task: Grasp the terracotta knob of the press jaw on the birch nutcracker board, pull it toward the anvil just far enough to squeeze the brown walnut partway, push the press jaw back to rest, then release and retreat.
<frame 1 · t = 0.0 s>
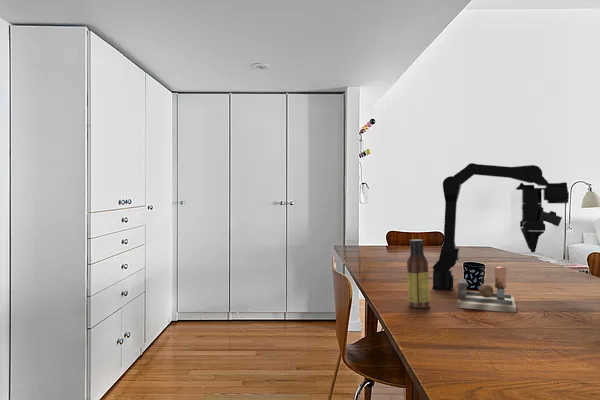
hand: (531, 250, 147), 15 cm above the table, fingers open, 9 cm apart
sauce bottle: (418, 307, 133), on the table
press jaw: (500, 283, 134), point 7 cm above the table, slide at 0.0 cm
nutcracker board: (486, 303, 135), on the table
walnut: (486, 290, 135), point 4 cm above the table, slide at 0.0 cm
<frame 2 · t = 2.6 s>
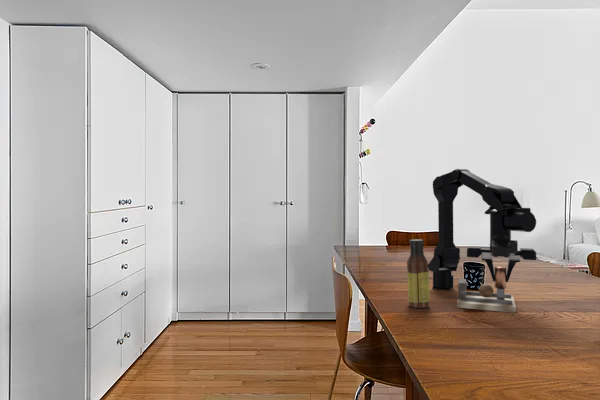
hand: (500, 281, 134), 7 cm above the table, fingers closed on press jaw, 3 cm apart
press jaw: (500, 283, 134), point 7 cm above the table, slide at 0.0 cm, touching gripper
everything else where it was.
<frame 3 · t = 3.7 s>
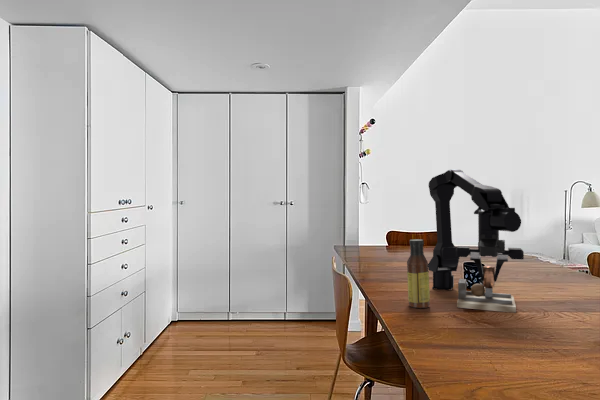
hand: (488, 281, 135), 7 cm above the table, fingers closed on press jaw, 3 cm apart
press jaw: (488, 282, 135), point 7 cm above the table, slide at 3.2 cm, touching gripper, walnut
walnut: (477, 290, 136), point 4 cm above the table, slide at 2.3 cm, touching press jaw
everything else where it was.
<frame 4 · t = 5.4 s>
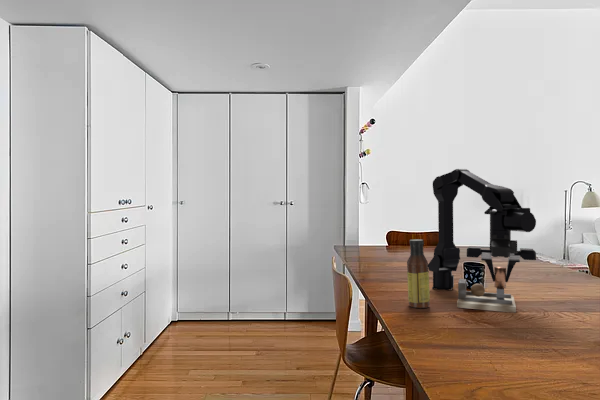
hand: (500, 281, 134), 7 cm above the table, fingers closed on press jaw, 3 cm apart
press jaw: (500, 283, 134), point 7 cm above the table, slide at 0.1 cm, touching gripper
walnut: (477, 290, 136), point 4 cm above the table, slide at 2.3 cm
everything else where it was.
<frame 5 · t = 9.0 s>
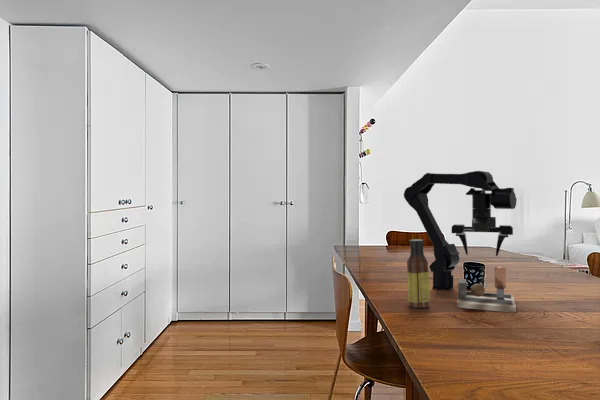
hand: (481, 255, 149), 13 cm above the table, fingers open, 9 cm apart
press jaw: (500, 283, 134), point 7 cm above the table, slide at 0.1 cm
everything else where it was.
at the end: walnut slide at 2.3 cm; press jaw slide at 0.1 cm; the gripper is holding nothing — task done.
